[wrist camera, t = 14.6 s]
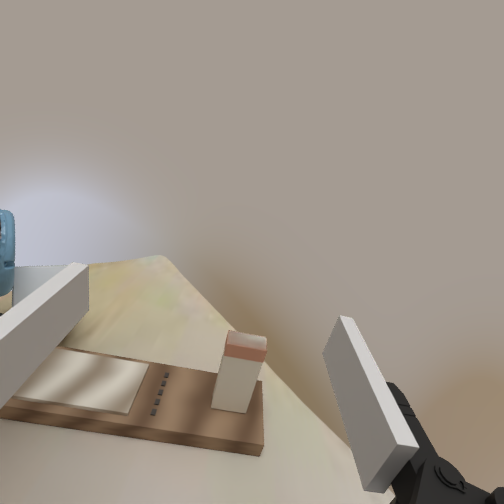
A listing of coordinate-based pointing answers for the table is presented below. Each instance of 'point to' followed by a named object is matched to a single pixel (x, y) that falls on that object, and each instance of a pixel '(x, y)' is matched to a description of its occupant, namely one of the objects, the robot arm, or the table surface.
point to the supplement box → (31, 280)
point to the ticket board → (135, 402)
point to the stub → (238, 371)
